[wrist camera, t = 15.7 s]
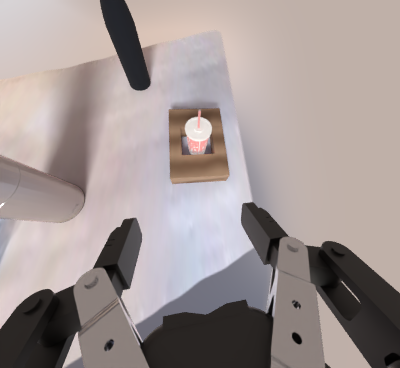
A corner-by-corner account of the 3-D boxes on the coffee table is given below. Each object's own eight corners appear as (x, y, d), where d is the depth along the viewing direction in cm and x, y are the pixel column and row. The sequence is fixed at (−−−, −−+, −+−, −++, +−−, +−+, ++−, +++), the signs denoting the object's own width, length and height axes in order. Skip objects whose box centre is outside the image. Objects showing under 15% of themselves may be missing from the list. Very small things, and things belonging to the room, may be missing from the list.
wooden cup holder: (225, 180, 39) (229, 175, 35) (172, 183, 38) (170, 178, 34) (217, 118, 45) (219, 108, 42) (170, 120, 44) (168, 109, 40)
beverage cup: (206, 139, 43) (213, 97, 30) (209, 158, 41) (217, 122, 28) (185, 140, 42) (182, 98, 29) (186, 159, 40) (184, 124, 27)
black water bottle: (131, 91, 47) (36, -129, 18) (129, 77, 48) (41, -144, 20) (151, 89, 47) (92, -126, 19) (149, 75, 49) (91, -141, 21)
